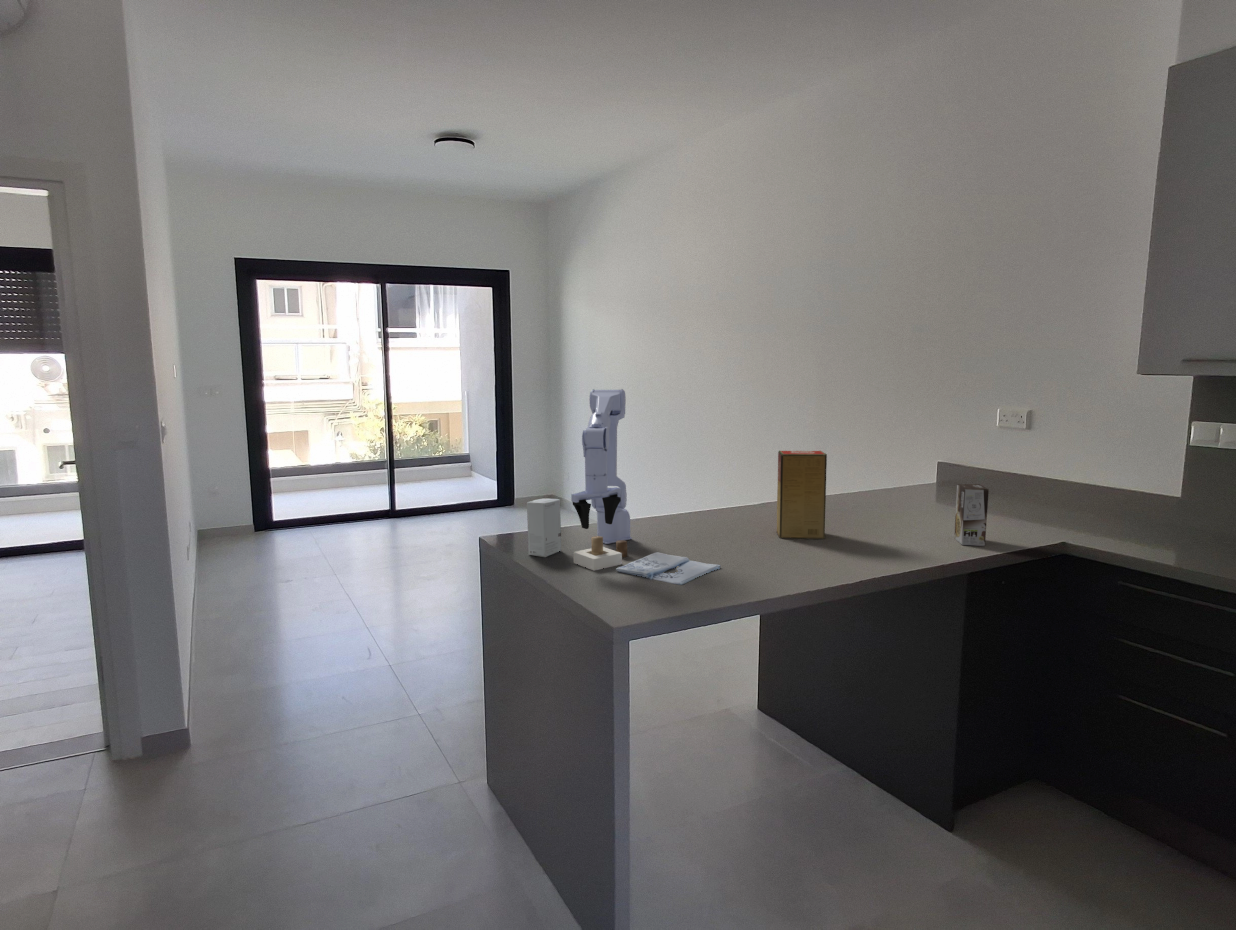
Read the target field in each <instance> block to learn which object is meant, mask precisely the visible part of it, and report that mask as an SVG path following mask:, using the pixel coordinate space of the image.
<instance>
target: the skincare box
mask: <svg viewBox="0 0 1236 930" xmlns="http://www.w3.org/2000/svg"><path fill="white" fill-rule="evenodd" d="M526 513H527V514H526V515H527V516H526V517H527V546H528V548H527V549H528V550H527V551H528V553H527V554H528V555H529V556H536V557H541V558H547V557H549V556H551V555H554V554H557V553H560V552H561V551H562V525H561V499H558V498H548V497H547V498H546V497H543V498H539V499H534V500H531V501H527V502H526ZM559 551H560V552H559Z"/></svg>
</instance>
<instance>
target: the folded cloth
mask: <svg viewBox="0 0 1236 930" xmlns="http://www.w3.org/2000/svg"><path fill="white" fill-rule="evenodd" d="M677 566H679V567H678V568H677V570H678V572H675V571H674V572H675V573H670V572H667V571H669V570H673V568H674V569H675V567H677ZM717 569H718V570H721V564H715V563H714V564H713V563H705V562H700V561H695V560H692V559H691V560H690V559H689V557H687V556H679V555H674V554H667V553H664V552H658V551H656V552H653V553H651V554H650V553H649V554H648V555H646V556H644V557H641V558H639V559H636V560H633V561H631V562H628V563H627V564H625V565H622V566H618V567H617V568H615V570H616V571H618V573H623V574H627V575H633V576H636V575H637V576H638V577H641V576H642V578H645V577H646V579H649V580H650V581H651V580H653V581H654V580H655V581H661V582H664V583H668V584H674V585H678V586H679V585H680V586H683V585H685V584H687V583H689V582H691V581H693V580H696V579H698V578H700V577H703V576H705V575H707V574H708V573H709V574H710V573H711V571H713V572H715V571H718V570H717ZM714 570H715V571H714ZM663 572H666V573H663ZM706 573H707V574H706ZM704 574H705V575H704ZM702 575H703V576H702ZM637 576H636V577H637ZM699 576H700V577H699ZM697 577H698V578H697ZM695 578H696V579H695Z"/></svg>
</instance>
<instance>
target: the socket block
mask: <svg viewBox="0 0 1236 930" xmlns="http://www.w3.org/2000/svg"><path fill="white" fill-rule="evenodd" d="M573 564H575V565H577V564H578V566H581V567H582V568H585V567H586V568H585V569H589V570H591V571H594V572H595V571H599V570H602V569H603V568H604V569H608V568H612V567H617V566H621V565H623V557H622V553H620V552H617V551H616V550H613V549H610V548H608V547H605V546H603V554H602V555H597V556H595V555H592V547H590V548H586V549H580V550H576V551H573Z"/></svg>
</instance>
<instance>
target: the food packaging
mask: <svg viewBox="0 0 1236 930" xmlns="http://www.w3.org/2000/svg"><path fill="white" fill-rule="evenodd" d="M827 462H828V456H827V453H826V452H823V451H822V450H778V453H777V492H776V493H777V494H776V498H777V499H776V530H775V531H776V534H777V536H778V538H780V539H793V540H794V539H795V540H796V539H799V540H800V539H801V540H803V539H804V540H805V539H807V540H808V539H809V540H812V539H813V540H825V539H826V538H825V536H826V535H825V534H826V533H825V532H826V531H825V529H826V501H827V500H826V499H827V498H826V497H827Z"/></svg>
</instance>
